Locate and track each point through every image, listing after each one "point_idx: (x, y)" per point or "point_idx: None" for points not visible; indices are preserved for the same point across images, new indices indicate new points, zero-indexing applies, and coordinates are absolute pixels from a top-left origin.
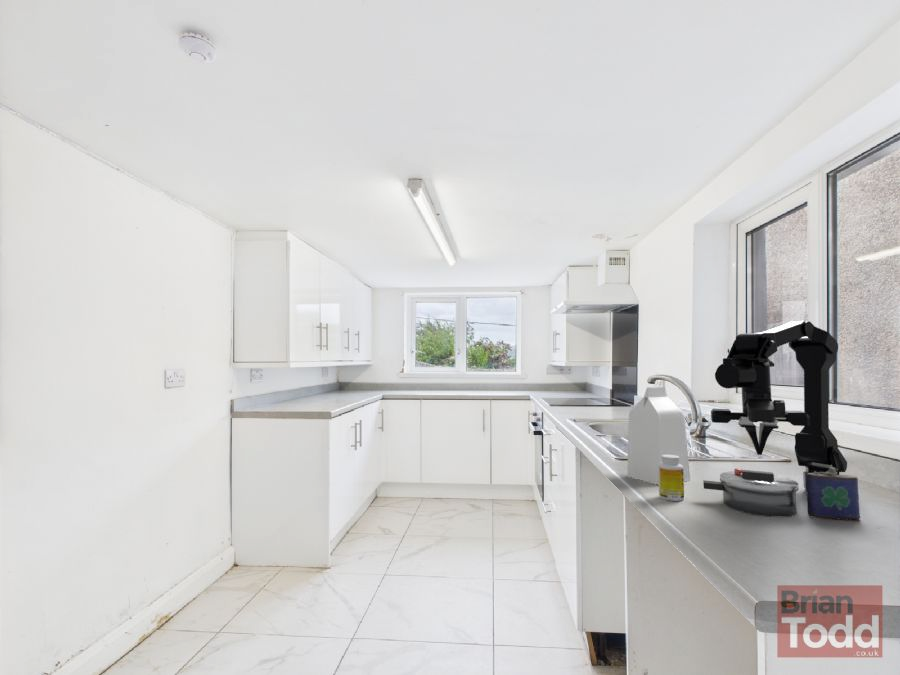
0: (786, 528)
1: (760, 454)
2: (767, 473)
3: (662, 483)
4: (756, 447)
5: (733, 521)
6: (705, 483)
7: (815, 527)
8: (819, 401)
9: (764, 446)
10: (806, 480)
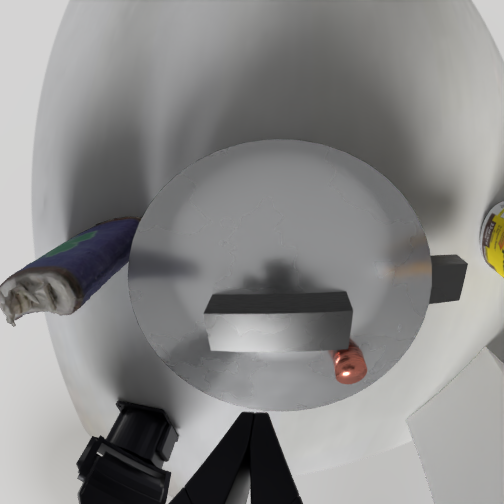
0: (217, 49)
1: (249, 412)
2: (231, 316)
3: None
4: (270, 449)
5: (362, 46)
6: (461, 262)
7: (143, 110)
8: None
9: (209, 455)
10: (92, 279)
